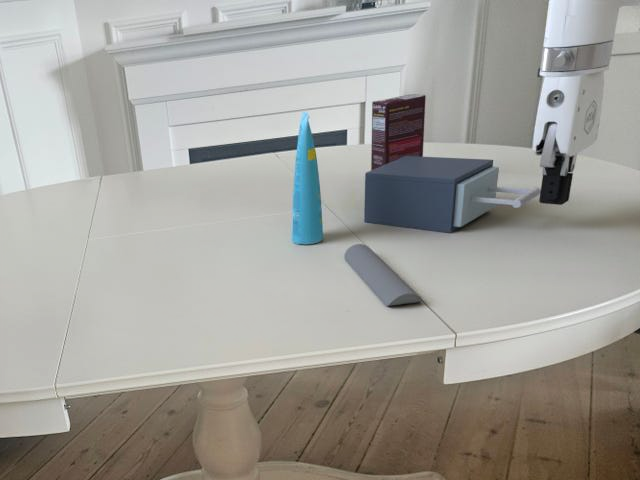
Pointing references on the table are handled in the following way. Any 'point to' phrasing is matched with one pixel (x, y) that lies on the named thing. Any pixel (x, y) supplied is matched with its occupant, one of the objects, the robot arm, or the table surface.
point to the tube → (306, 190)
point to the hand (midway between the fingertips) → (553, 202)
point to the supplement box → (397, 128)
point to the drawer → (484, 196)
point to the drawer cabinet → (417, 191)
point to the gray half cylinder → (380, 276)
